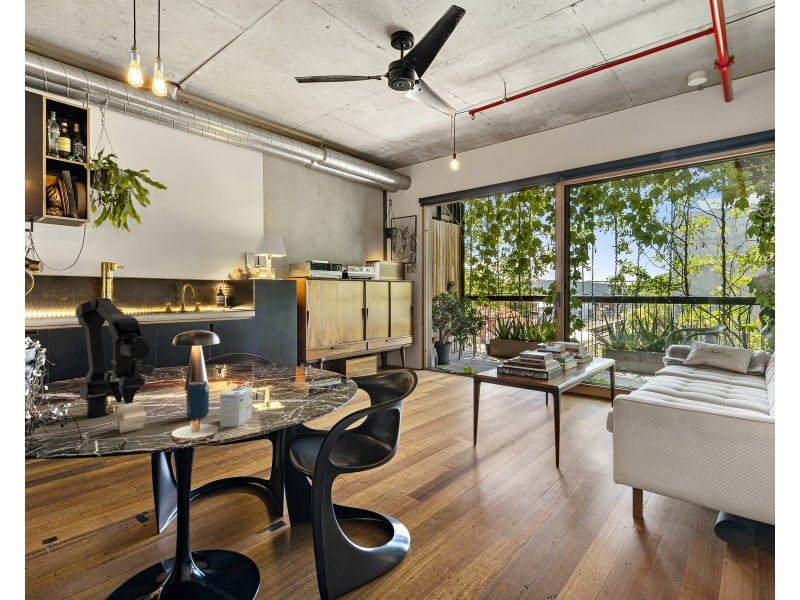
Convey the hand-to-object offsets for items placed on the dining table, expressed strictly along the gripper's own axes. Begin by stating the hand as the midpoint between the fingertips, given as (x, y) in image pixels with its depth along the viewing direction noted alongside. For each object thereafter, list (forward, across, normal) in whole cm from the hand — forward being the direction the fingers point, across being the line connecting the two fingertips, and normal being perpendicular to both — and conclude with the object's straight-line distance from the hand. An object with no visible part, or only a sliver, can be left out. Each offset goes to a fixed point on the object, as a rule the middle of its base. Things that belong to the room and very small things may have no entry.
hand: (123, 404), depth 131 cm
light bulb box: (+7, -23, -26) cm, 35 cm away
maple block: (+5, -4, 0) cm, 7 cm away
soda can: (+7, -8, -20) cm, 23 cm away
